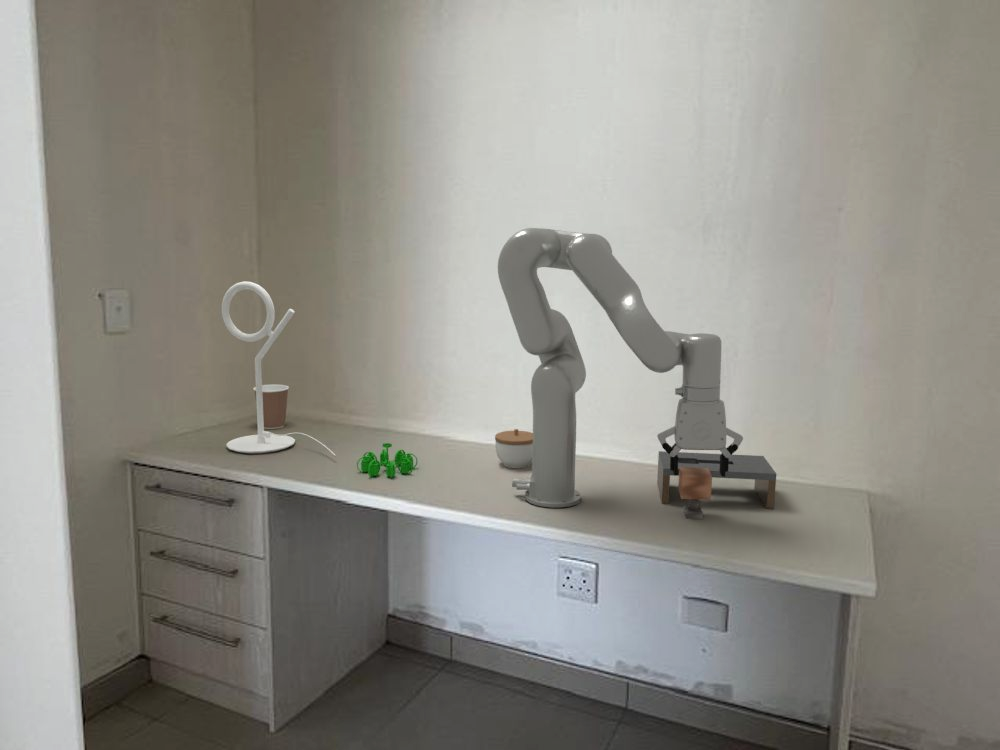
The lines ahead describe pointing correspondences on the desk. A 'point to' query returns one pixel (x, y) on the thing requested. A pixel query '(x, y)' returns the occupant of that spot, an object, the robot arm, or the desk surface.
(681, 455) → the keyhole stand
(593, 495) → the desk surface
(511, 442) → the lidded jar
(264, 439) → the desk lamp
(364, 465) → the chandelier
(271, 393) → the coffee cup
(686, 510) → the headed peg
